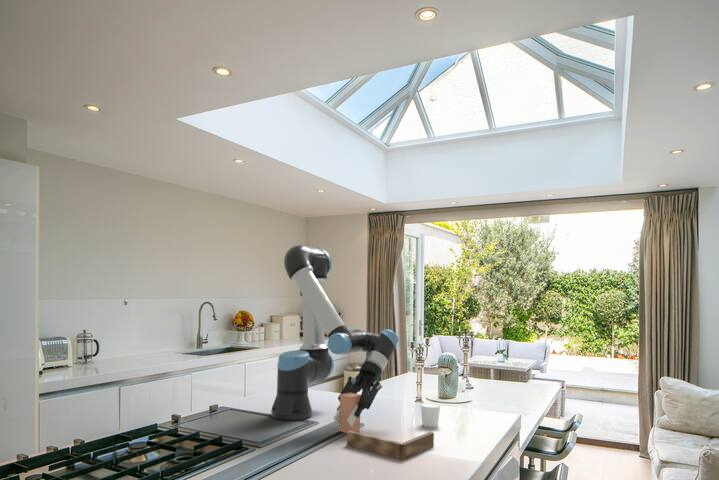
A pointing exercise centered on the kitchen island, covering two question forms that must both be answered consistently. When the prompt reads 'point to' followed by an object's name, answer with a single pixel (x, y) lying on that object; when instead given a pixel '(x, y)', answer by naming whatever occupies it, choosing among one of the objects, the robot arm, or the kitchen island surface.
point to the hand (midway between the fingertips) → (342, 422)
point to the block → (348, 412)
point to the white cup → (430, 415)
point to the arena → (391, 444)
